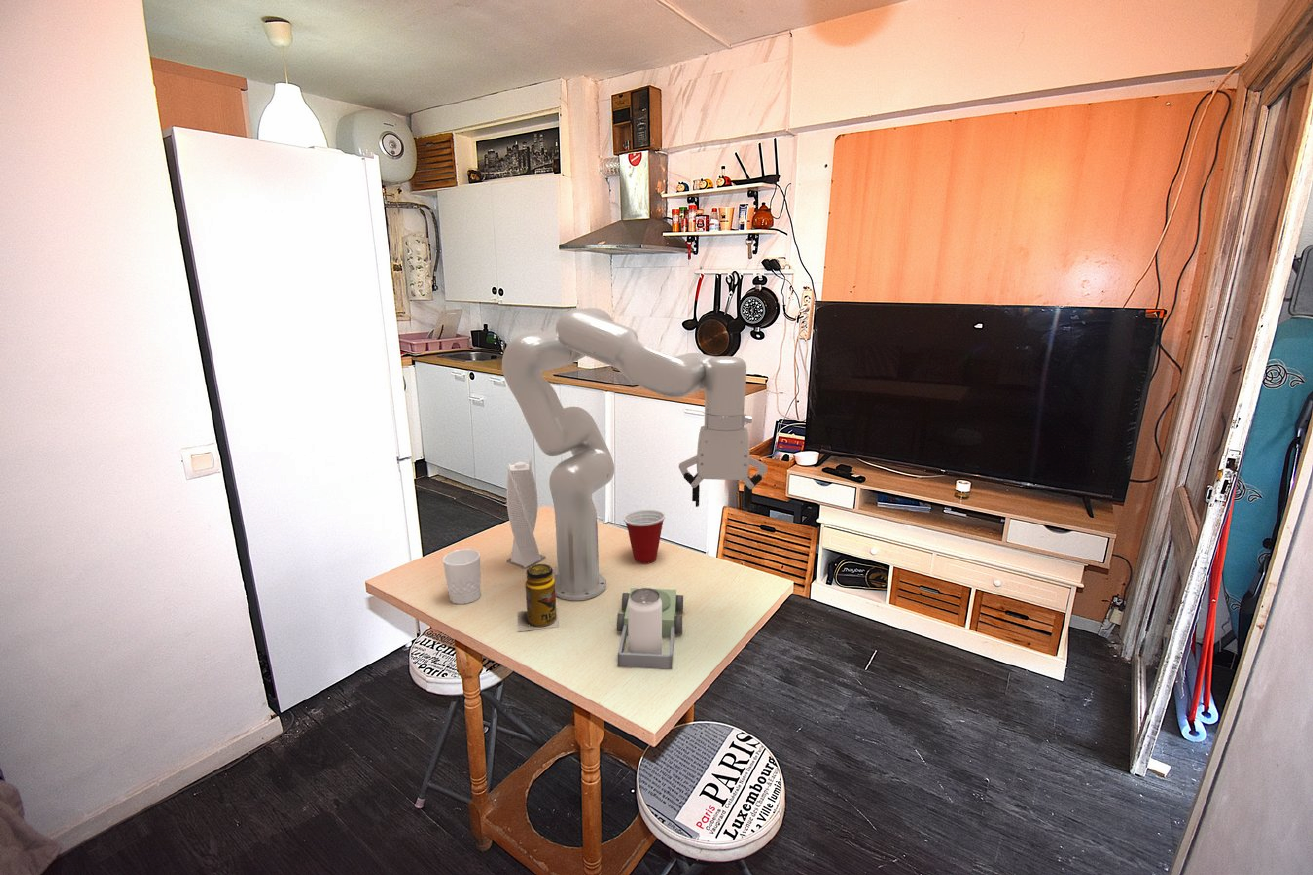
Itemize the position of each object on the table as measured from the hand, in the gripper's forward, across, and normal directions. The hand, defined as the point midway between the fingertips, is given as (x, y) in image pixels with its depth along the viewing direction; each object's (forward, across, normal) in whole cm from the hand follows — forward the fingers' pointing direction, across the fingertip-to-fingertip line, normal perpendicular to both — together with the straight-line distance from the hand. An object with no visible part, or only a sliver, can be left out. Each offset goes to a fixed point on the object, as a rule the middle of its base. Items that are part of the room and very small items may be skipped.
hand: (721, 505), depth 115 cm
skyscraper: (+26, +48, -24) cm, 60 cm away
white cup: (+26, +57, -6) cm, 63 cm away
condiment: (+27, +38, +2) cm, 46 cm away
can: (+26, +14, +11) cm, 32 cm away
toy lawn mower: (+26, +14, +5) cm, 30 cm away
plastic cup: (+26, +18, -28) cm, 43 cm away
